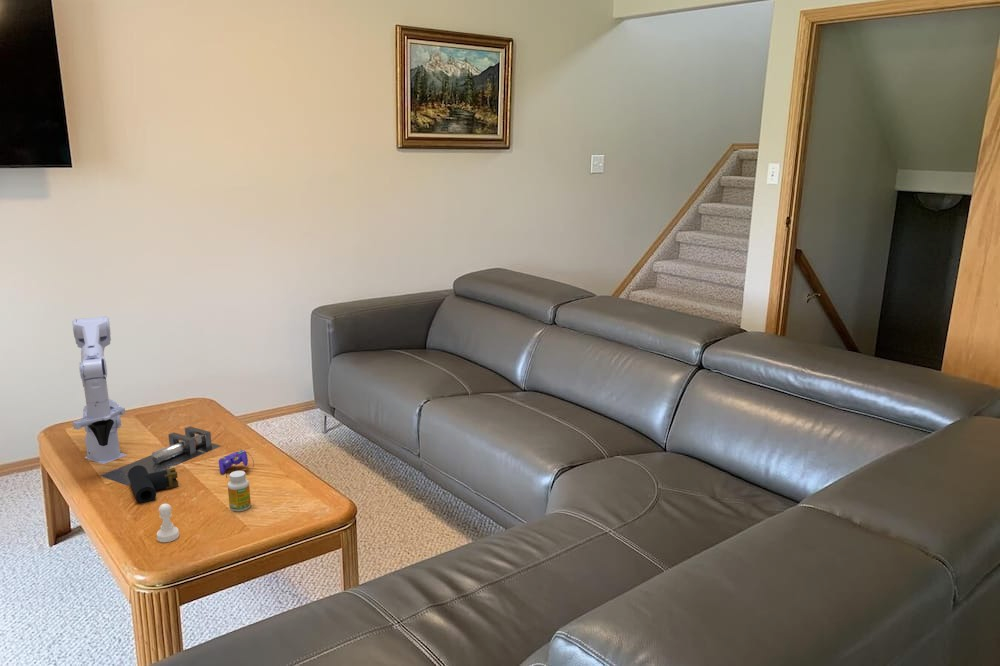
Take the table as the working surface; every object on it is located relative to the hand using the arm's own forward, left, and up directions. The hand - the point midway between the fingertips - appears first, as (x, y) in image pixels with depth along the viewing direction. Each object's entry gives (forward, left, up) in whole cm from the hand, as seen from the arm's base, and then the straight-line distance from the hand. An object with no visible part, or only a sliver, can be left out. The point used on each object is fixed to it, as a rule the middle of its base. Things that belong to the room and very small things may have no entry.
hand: (103, 444), depth 215 cm
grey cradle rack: (+5, +14, -10) cm, 18 cm away
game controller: (+28, +22, -10) cm, 37 cm away
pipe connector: (+20, +1, -10) cm, 22 cm away
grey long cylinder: (+5, +21, -9) cm, 24 cm away
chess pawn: (+45, -14, -10) cm, 48 cm away
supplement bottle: (+48, +6, -10) cm, 49 cm away
